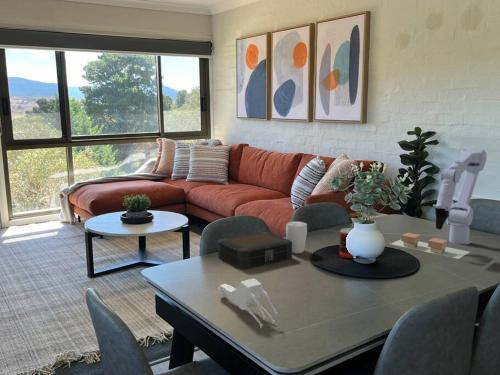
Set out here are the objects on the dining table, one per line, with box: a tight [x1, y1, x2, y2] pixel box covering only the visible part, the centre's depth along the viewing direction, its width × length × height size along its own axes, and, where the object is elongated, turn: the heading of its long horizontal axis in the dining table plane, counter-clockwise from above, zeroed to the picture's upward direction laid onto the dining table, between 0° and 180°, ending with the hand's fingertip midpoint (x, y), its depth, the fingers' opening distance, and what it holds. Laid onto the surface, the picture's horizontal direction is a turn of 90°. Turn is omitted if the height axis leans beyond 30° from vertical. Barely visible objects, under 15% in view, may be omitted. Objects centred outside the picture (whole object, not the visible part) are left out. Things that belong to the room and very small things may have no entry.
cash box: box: [217, 231, 293, 270], centre depth 194 cm, size 25×20×8 cm
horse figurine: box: [217, 278, 278, 329], centre depth 143 cm, size 5×16×25 cm
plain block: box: [430, 247, 445, 255], centre depth 199 cm, size 4×4×4 cm
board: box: [390, 239, 471, 260], centre depth 205 cm, size 13×30×1 cm, turn 45°
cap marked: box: [400, 232, 421, 244], centre depth 207 cm, size 6×6×3 cm
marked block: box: [403, 242, 418, 249], centre depth 207 cm, size 4×4×4 cm
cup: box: [285, 221, 308, 254], centre depth 203 cm, size 9×9×12 cm
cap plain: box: [427, 237, 449, 250], centre depth 199 cm, size 6×6×3 cm
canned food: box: [339, 227, 354, 259], centre depth 196 cm, size 8×8×11 cm
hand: (438, 227), depth 197 cm, fingers open, 7 cm apart
